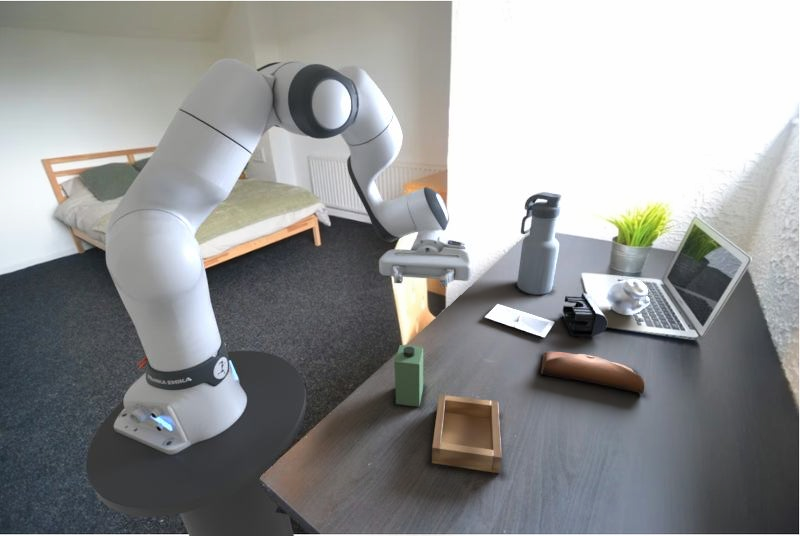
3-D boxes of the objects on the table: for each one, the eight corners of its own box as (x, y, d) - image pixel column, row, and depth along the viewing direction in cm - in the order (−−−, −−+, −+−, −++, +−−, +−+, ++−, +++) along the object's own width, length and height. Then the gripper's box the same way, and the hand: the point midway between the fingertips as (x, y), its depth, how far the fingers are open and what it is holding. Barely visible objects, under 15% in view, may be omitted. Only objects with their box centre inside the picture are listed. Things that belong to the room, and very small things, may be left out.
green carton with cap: (395, 403, 70) (394, 357, 66) (400, 385, 75) (399, 340, 70) (419, 407, 69) (419, 359, 65) (423, 388, 74) (423, 342, 69)
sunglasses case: (633, 366, 77) (644, 354, 72) (635, 400, 74) (647, 390, 68) (541, 351, 83) (545, 338, 77) (539, 381, 79) (542, 370, 74)
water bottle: (509, 287, 111) (520, 194, 99) (526, 276, 117) (539, 188, 105) (540, 299, 104) (556, 201, 92) (557, 287, 110) (574, 194, 98)
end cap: (604, 338, 87) (610, 314, 84) (572, 337, 88) (577, 312, 85) (589, 315, 96) (595, 292, 93) (561, 314, 97) (565, 291, 94)
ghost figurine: (610, 321, 93) (619, 286, 89) (599, 302, 102) (607, 269, 98) (650, 324, 92) (661, 288, 88) (635, 305, 100) (644, 271, 96)
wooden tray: (431, 463, 59) (432, 447, 57) (438, 408, 69) (439, 394, 68) (499, 473, 57) (501, 457, 56) (496, 415, 67) (498, 401, 66)
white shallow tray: (497, 307, 101) (498, 300, 100) (554, 325, 92) (555, 318, 91) (484, 320, 95) (485, 313, 94) (543, 341, 87) (545, 333, 86)
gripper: (385, 239, 88) (369, 264, 76) (473, 243, 84) (471, 270, 72) (386, 263, 91) (371, 291, 79) (472, 268, 87) (469, 298, 75)
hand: (420, 281), depth 76 cm, fingers open, 8 cm apart
